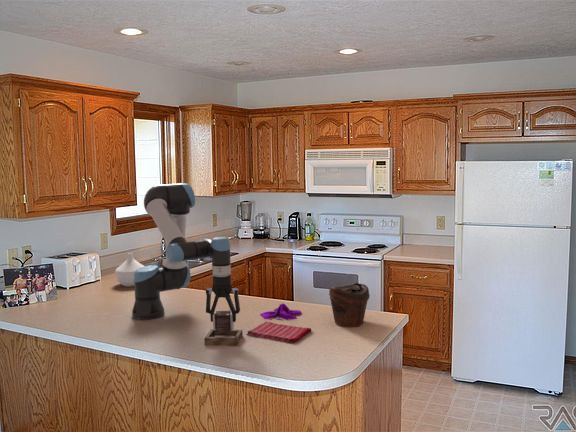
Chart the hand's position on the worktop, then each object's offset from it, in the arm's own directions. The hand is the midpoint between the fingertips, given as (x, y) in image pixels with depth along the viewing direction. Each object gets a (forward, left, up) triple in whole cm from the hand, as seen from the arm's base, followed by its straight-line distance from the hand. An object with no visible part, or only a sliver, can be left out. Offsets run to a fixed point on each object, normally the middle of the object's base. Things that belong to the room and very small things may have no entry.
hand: (223, 329), depth 223 cm
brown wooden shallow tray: (0, 0, -5) cm, 5 cm away
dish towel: (+22, +11, -6) cm, 25 cm away
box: (0, 0, -1) cm, 1 cm away
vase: (-77, +90, -5) cm, 118 cm away
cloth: (+21, +35, -6) cm, 42 cm away
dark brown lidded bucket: (+52, +27, -5) cm, 59 cm away
